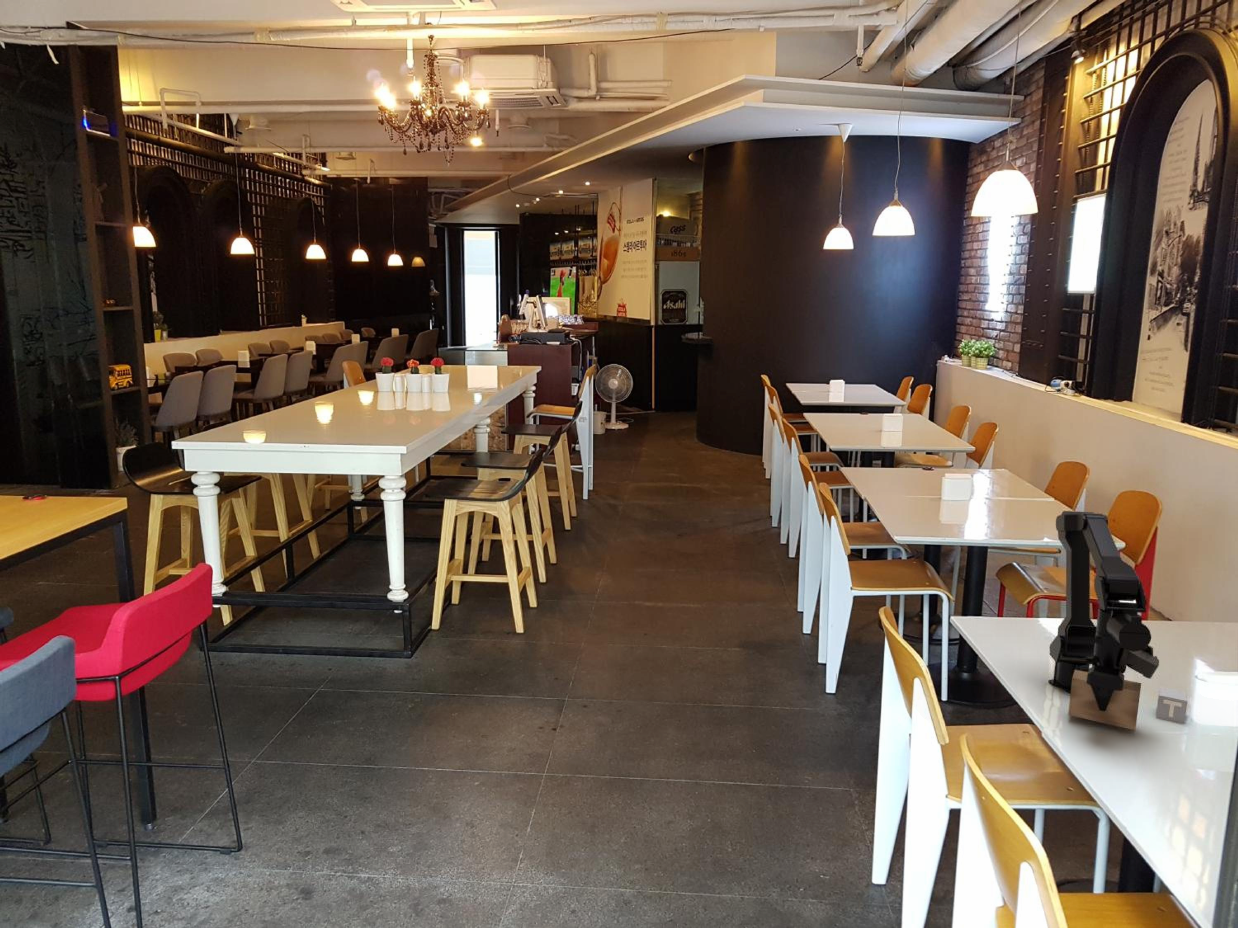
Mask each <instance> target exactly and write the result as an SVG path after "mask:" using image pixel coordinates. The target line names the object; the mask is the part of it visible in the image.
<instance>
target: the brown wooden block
mask: <svg viewBox="0 0 1238 928" xmlns="http://www.w3.org/2000/svg"><path fill="white" fill-rule="evenodd" d="M1087 674H1088V672H1084V671H1079V670H1075V671H1074V674H1073V677H1072V685H1071V693H1070V696H1069V703H1068V711H1067V713H1068V714H1067V715H1068V716H1072V717H1075V718H1079V719H1080V718H1081V719H1085V720H1089V721H1093V722H1099V723H1101V724H1102V723H1103V724H1107V725H1111V726H1116V727H1120V728H1125V729H1129V730H1133V731H1136V730H1137V729H1136V728H1137V723H1138V722H1137V720H1138V714H1139V713H1138V712H1139V706H1140V705H1139V703H1140V698H1141V691H1142V690H1141V688H1142V682H1137V681H1132V680H1128V679H1127V680H1126V679H1124V684H1123V691H1117V690H1115V691H1113V693H1112V696H1111V699H1110V701H1109V704H1108V706H1107V709H1106V711H1100V710H1099V707H1098V704H1097V702H1096V699H1095V696H1094V693H1093V691H1092V688H1091V685H1089V684H1087Z"/></svg>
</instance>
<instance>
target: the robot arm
mask: <svg viewBox="0 0 1238 928" xmlns="http://www.w3.org/2000/svg"><path fill="white" fill-rule="evenodd" d="M1055 529H1056V532H1057V537H1058V541H1059V542H1060V544H1061V545H1062V547H1063V548H1064V549H1065V552H1066V553H1065V554H1066V555H1065V556H1066V557H1065V560H1066V561H1065V564H1066V565H1065V568H1066V569H1065V617H1064V619H1063V620H1062V622H1061V623H1060V624H1059V625H1058V627H1057V635H1056V636H1055V638H1054V639H1053V640H1052V641H1051V643H1050V644H1049V656H1050V657H1051V658H1052V659H1053V660H1054V661H1055V662H1054V670H1053V679H1048V680H1047V681H1048V684H1050V685H1052V686H1056V687H1057V688H1059V689H1062V690H1063V691H1066V692H1068V693H1070V694H1071V685H1072V677H1073V674H1074V671H1075V670H1079V671H1084V672H1088V674H1087V684H1089V685H1091V688H1092V691H1093V693H1094V696H1095V699H1096V702H1097V704H1098V707H1099V710H1100V711H1106V709H1107V706H1108V704H1109V701H1110V699H1111V696H1112V693H1113V691H1115V690H1117V691H1123V684H1124V680H1125V673H1126V670H1127V667H1128V668H1129V669H1131V670H1133V671H1135V672H1136V673H1139V674H1141V675H1142V676H1143V677H1144V678H1147V679H1152V677H1153V675H1154V674H1155V672H1156V671H1157V670H1158V668H1159V666H1160V659H1159V658H1158V656H1156V655H1154V647H1153V646H1150V643H1151V640H1152V634H1151V630H1150V628H1149V627H1148V626H1147V625H1146V624H1144V623H1143V622H1142V621H1143V617H1142V615H1141V616H1140V615H1137V613H1138V612H1139V613H1141V614H1142V613H1143V614H1145V613H1147V607H1146V606H1147V605H1148V602H1147V600H1148V599H1147V597H1146V594H1145V591H1144V586H1143V583H1142V581H1141V579H1140V578H1139V575H1138V574H1137V572H1136V571H1135V569H1134V567H1133V566H1131V565H1130V564H1128V563H1127V562H1125V561H1124V560H1123V558H1122V557H1121V554H1120V552H1119V550H1118V548H1117V544H1116V543H1115V541H1114V538H1113V536H1112V532H1111V530H1110V528H1109V519H1108V516H1107V515H1106V514H1103V513H1096V512H1093V511H1078V510H1077V511H1076V510H1075V511H1073V510H1063V511H1062V512H1061V514H1060V515H1057V516H1056V518H1055ZM1091 557H1092V560H1093V563H1094V565H1095V567H1096V568H1095V569H1096V573H1095V574H1096V575H1095V577H1094V580H1093V582H1094V583H1093V586H1094V587H1093V588H1094V592H1095V596H1096V598H1097V602H1096V603H1097V604H1098V605H1099V606H1098V613H1097V620H1096V625H1095V624H1094V623H1093V621H1092V619H1091ZM1134 600H1135V601H1136V603H1128V602H1120V601H1134ZM1090 665H1091V667H1090Z"/></svg>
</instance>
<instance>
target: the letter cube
mask: <svg viewBox="0 0 1238 928" xmlns="http://www.w3.org/2000/svg"><path fill="white" fill-rule="evenodd" d="M1188 701H1189V699H1188V691H1182V690H1177V689H1174V688H1173V689H1172V688H1167V687H1162V686H1159V689H1158V696H1157V705H1156V715H1155V718H1157V719H1160V720H1161V719H1162V720H1165V721H1170V722H1176V723H1180V724H1185V723H1186V716H1187V707H1188Z"/></svg>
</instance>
